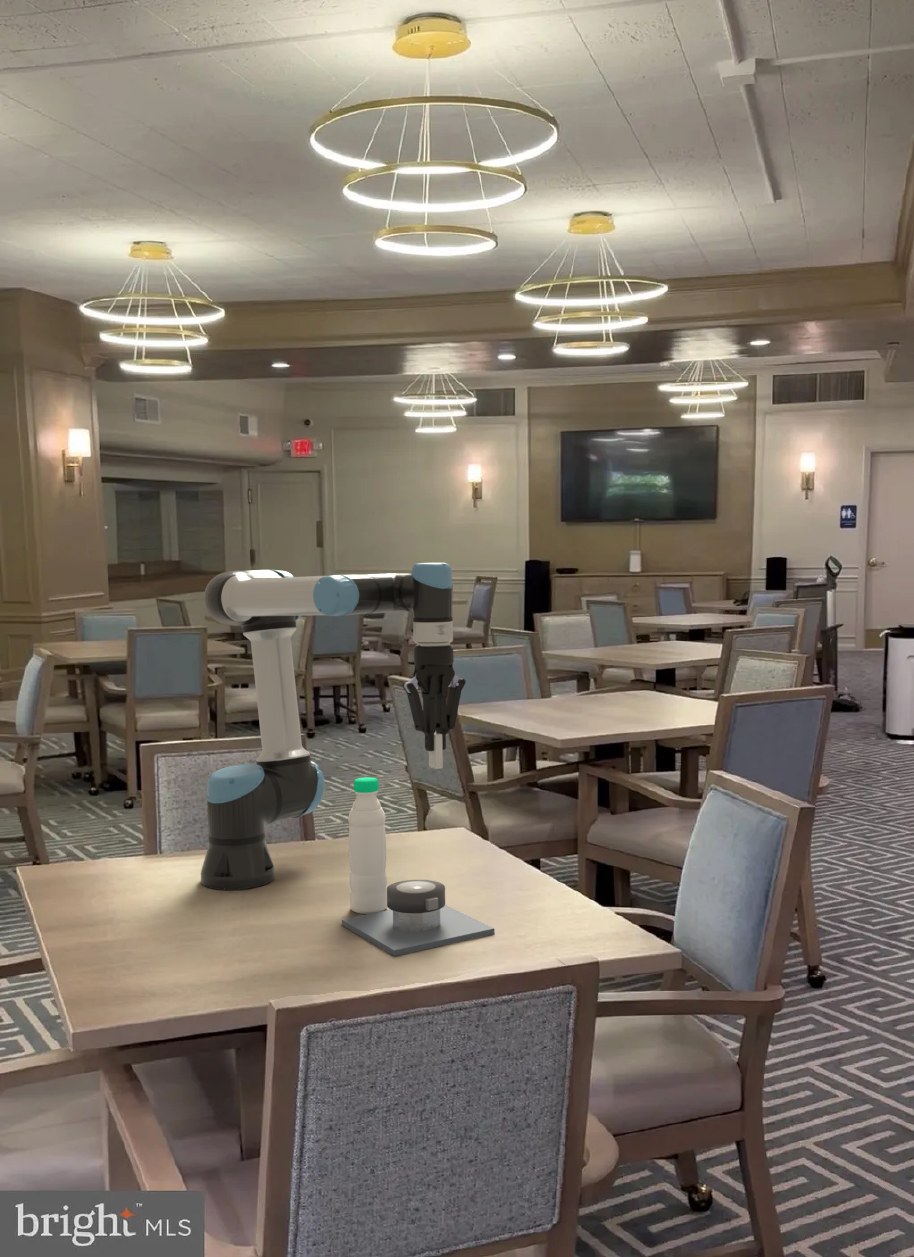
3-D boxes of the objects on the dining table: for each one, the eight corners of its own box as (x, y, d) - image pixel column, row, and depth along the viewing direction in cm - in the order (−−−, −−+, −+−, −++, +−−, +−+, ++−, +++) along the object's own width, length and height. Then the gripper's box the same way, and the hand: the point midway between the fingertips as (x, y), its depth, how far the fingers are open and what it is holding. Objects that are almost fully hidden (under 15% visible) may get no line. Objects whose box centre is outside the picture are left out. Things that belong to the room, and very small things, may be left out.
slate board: (341, 924, 206) (341, 919, 206) (436, 905, 217) (436, 900, 217) (394, 956, 189) (394, 950, 189) (494, 933, 200) (494, 928, 200)
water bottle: (381, 915, 211) (379, 782, 210) (345, 914, 213) (342, 781, 211) (391, 904, 218) (389, 775, 217) (356, 902, 220) (353, 774, 218)
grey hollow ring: (384, 921, 204) (384, 902, 204) (425, 913, 209) (425, 894, 209) (407, 934, 197) (407, 914, 197) (449, 925, 202) (448, 906, 201)
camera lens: (374, 914, 205) (374, 883, 205) (424, 904, 211) (423, 874, 211) (407, 932, 195) (407, 900, 195) (459, 921, 201) (458, 890, 200)
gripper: (413, 647, 209) (415, 774, 210) (473, 643, 215) (475, 766, 217) (393, 644, 215) (396, 768, 216) (452, 641, 222) (454, 761, 223)
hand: (435, 767), depth 217 cm, fingers closed
